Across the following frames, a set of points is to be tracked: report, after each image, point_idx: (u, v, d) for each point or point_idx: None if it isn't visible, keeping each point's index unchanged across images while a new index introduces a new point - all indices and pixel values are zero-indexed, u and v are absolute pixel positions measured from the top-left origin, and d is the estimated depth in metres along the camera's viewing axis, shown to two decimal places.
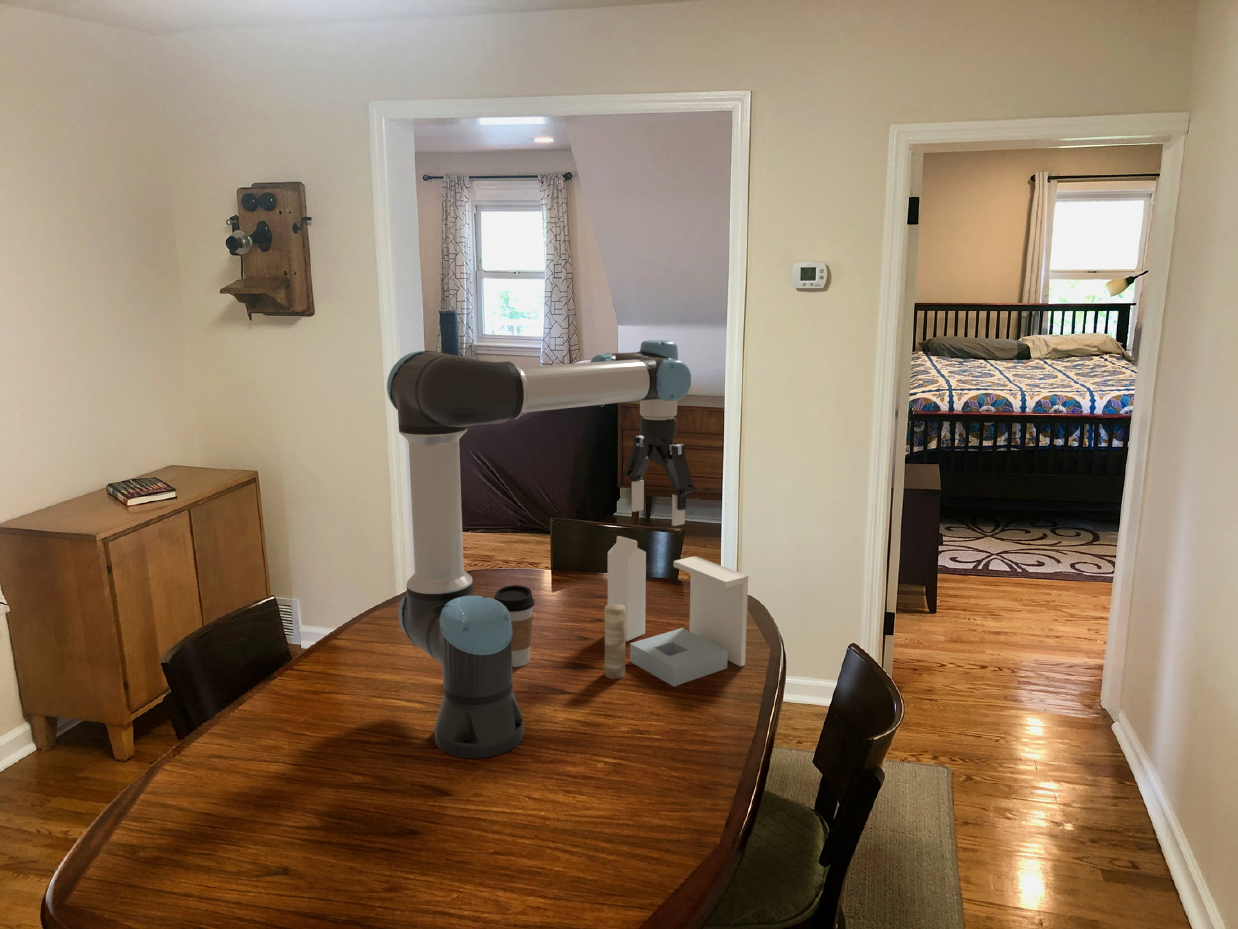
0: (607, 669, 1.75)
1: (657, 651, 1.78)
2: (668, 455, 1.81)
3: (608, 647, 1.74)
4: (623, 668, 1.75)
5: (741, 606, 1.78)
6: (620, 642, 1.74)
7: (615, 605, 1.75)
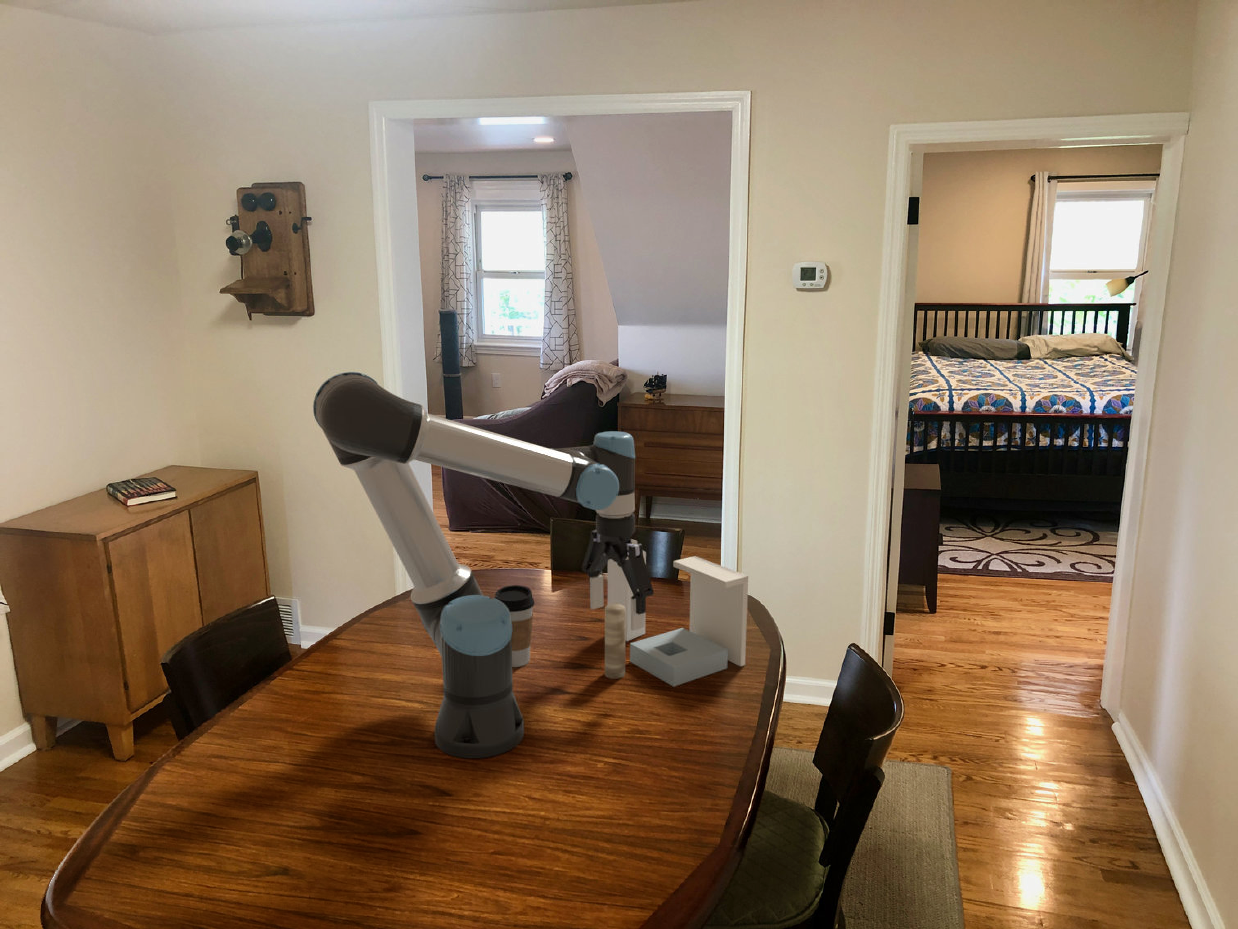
0: (607, 669, 1.75)
1: (657, 651, 1.78)
2: (626, 554, 1.69)
3: (608, 647, 1.74)
4: (623, 668, 1.75)
5: (741, 606, 1.78)
6: (620, 642, 1.74)
7: (615, 605, 1.75)
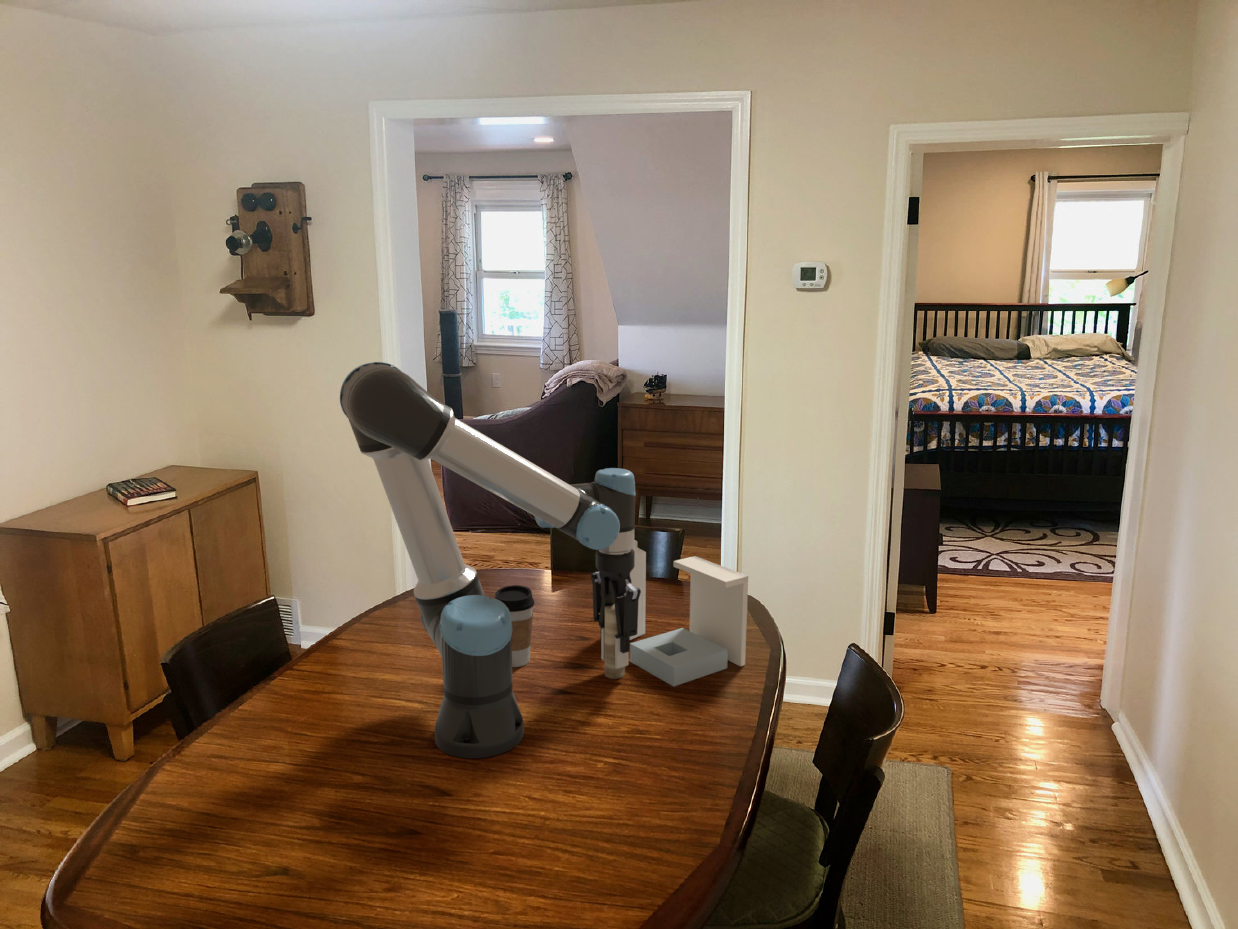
0: (607, 668, 1.75)
1: (657, 651, 1.78)
2: None
3: (608, 646, 1.74)
4: (623, 668, 1.75)
5: (741, 606, 1.78)
6: None
7: None
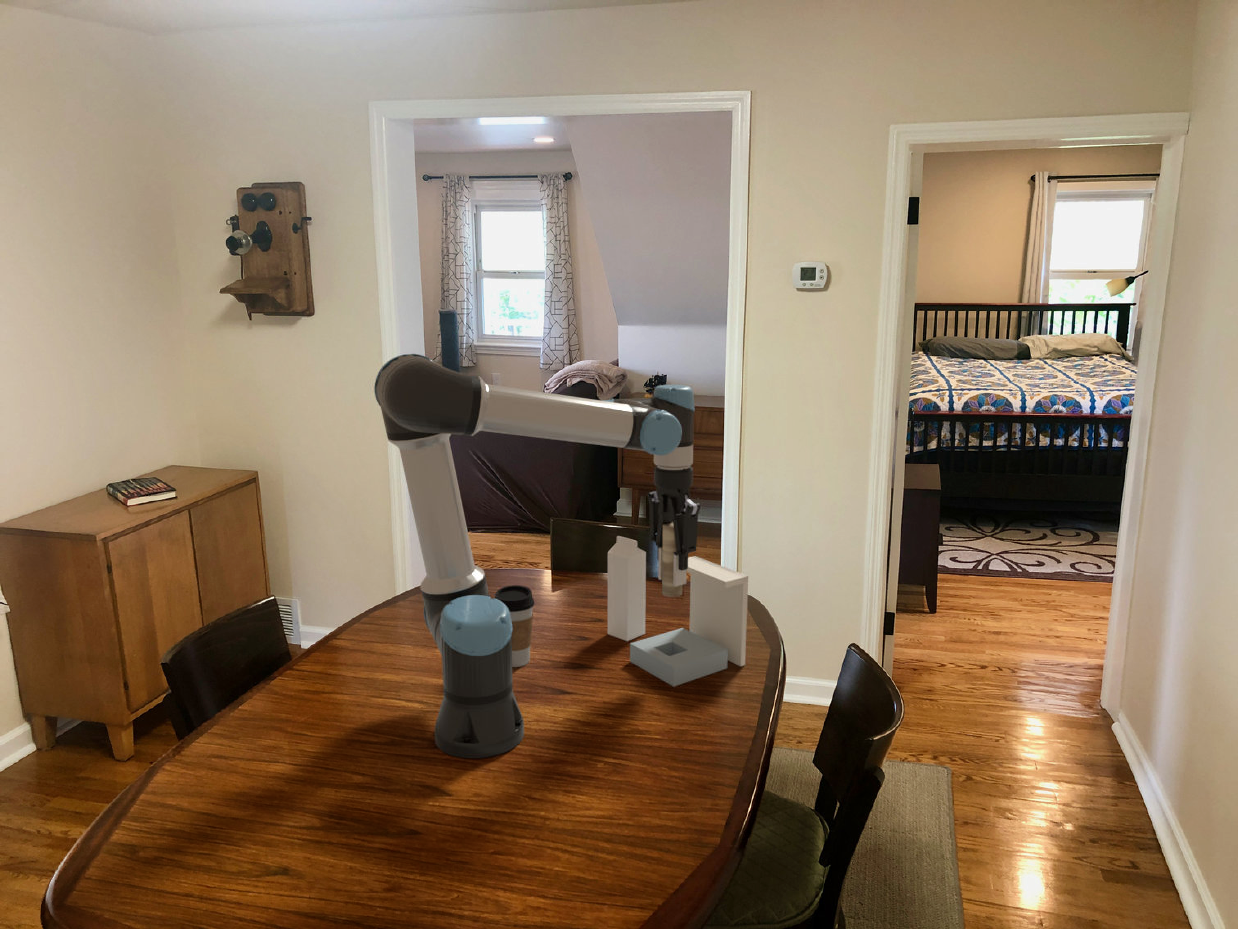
0: (665, 587, 1.75)
1: (657, 651, 1.78)
2: None
3: (666, 564, 1.74)
4: (681, 586, 1.75)
5: (741, 606, 1.78)
6: None
7: None
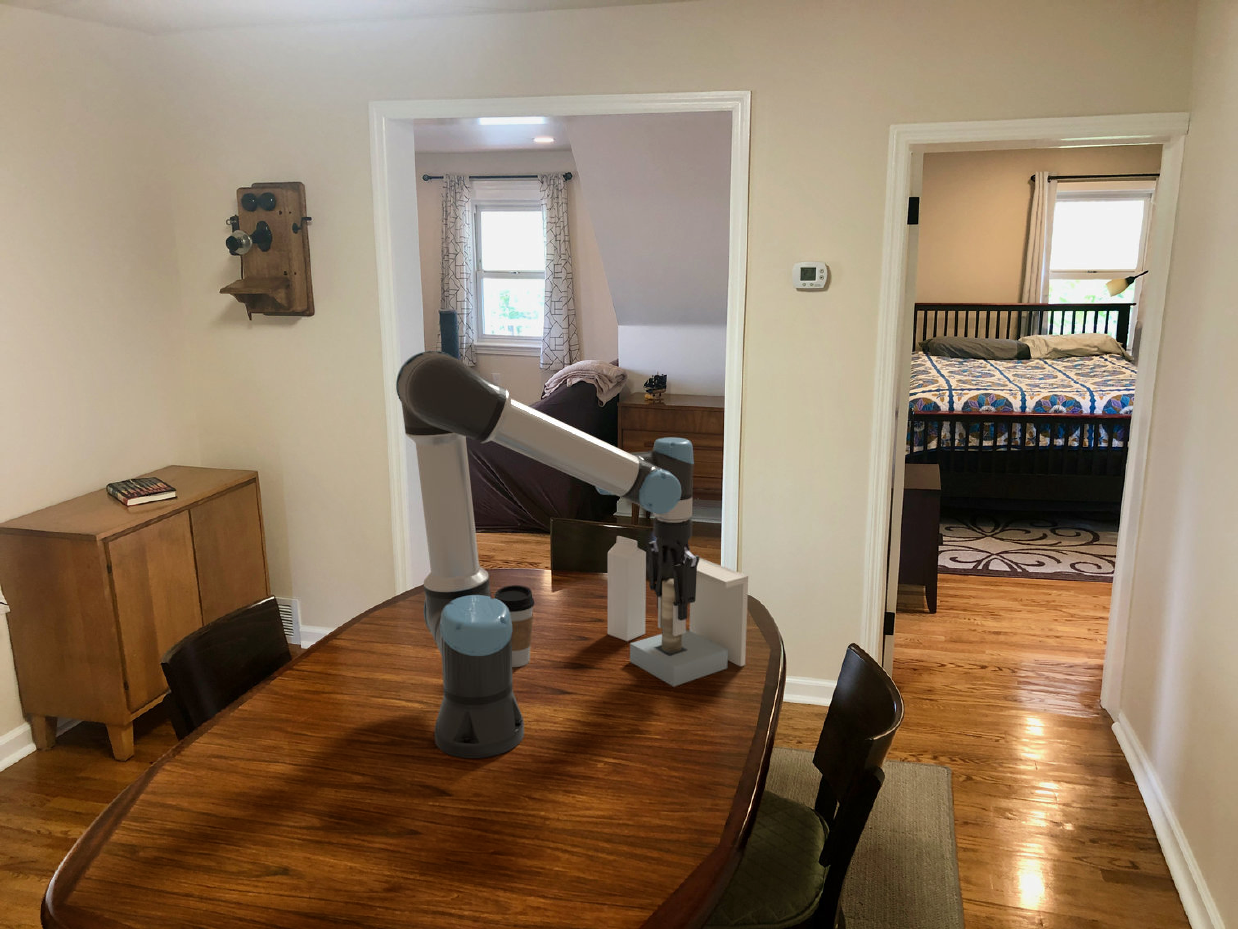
0: (664, 642, 1.77)
1: (657, 651, 1.78)
2: None
3: (665, 620, 1.76)
4: (680, 641, 1.78)
5: (741, 606, 1.78)
6: None
7: (672, 580, 1.77)
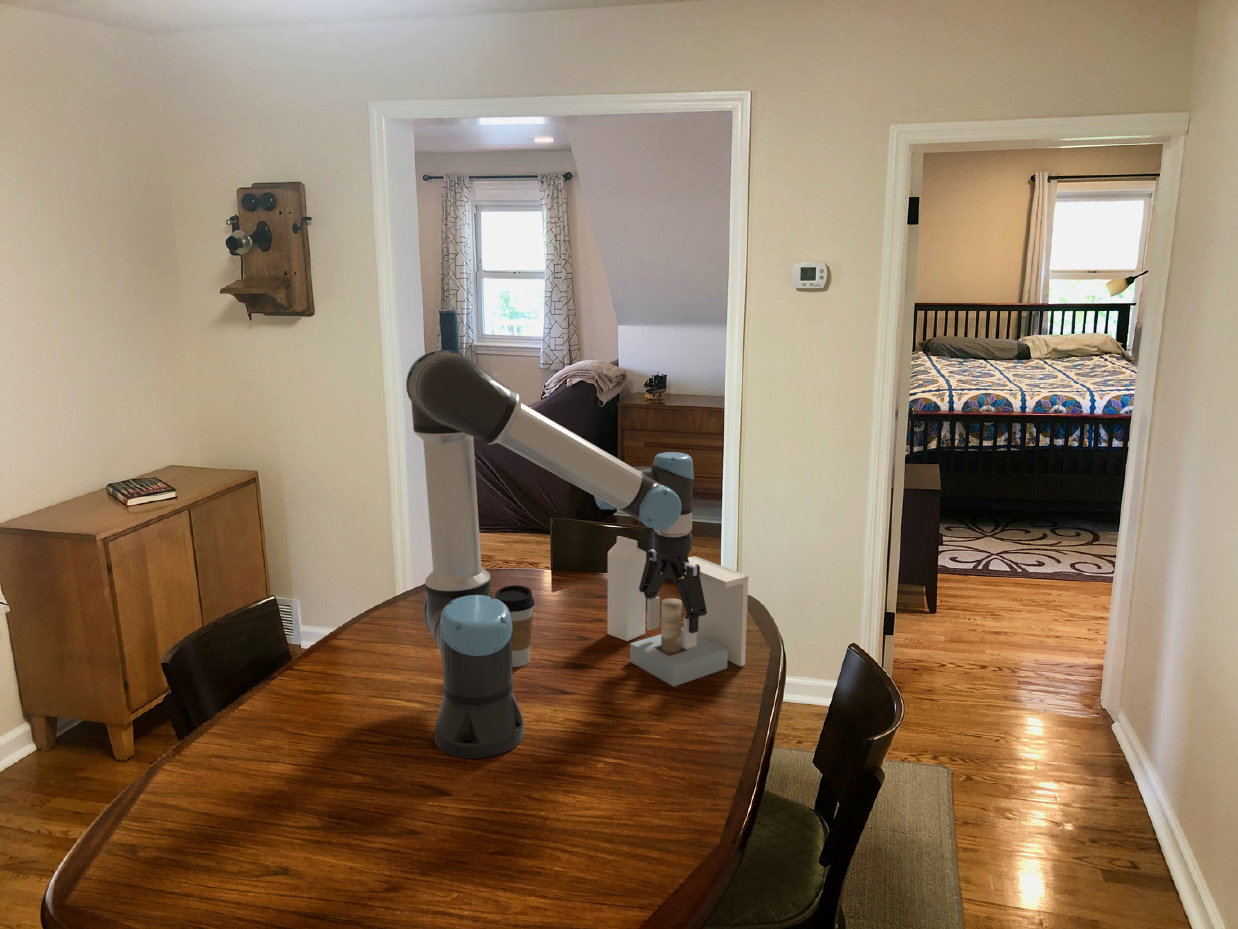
0: None
1: (657, 651, 1.78)
2: (682, 573, 1.74)
3: (665, 640, 1.77)
4: None
5: (741, 606, 1.78)
6: (677, 635, 1.77)
7: (672, 599, 1.78)
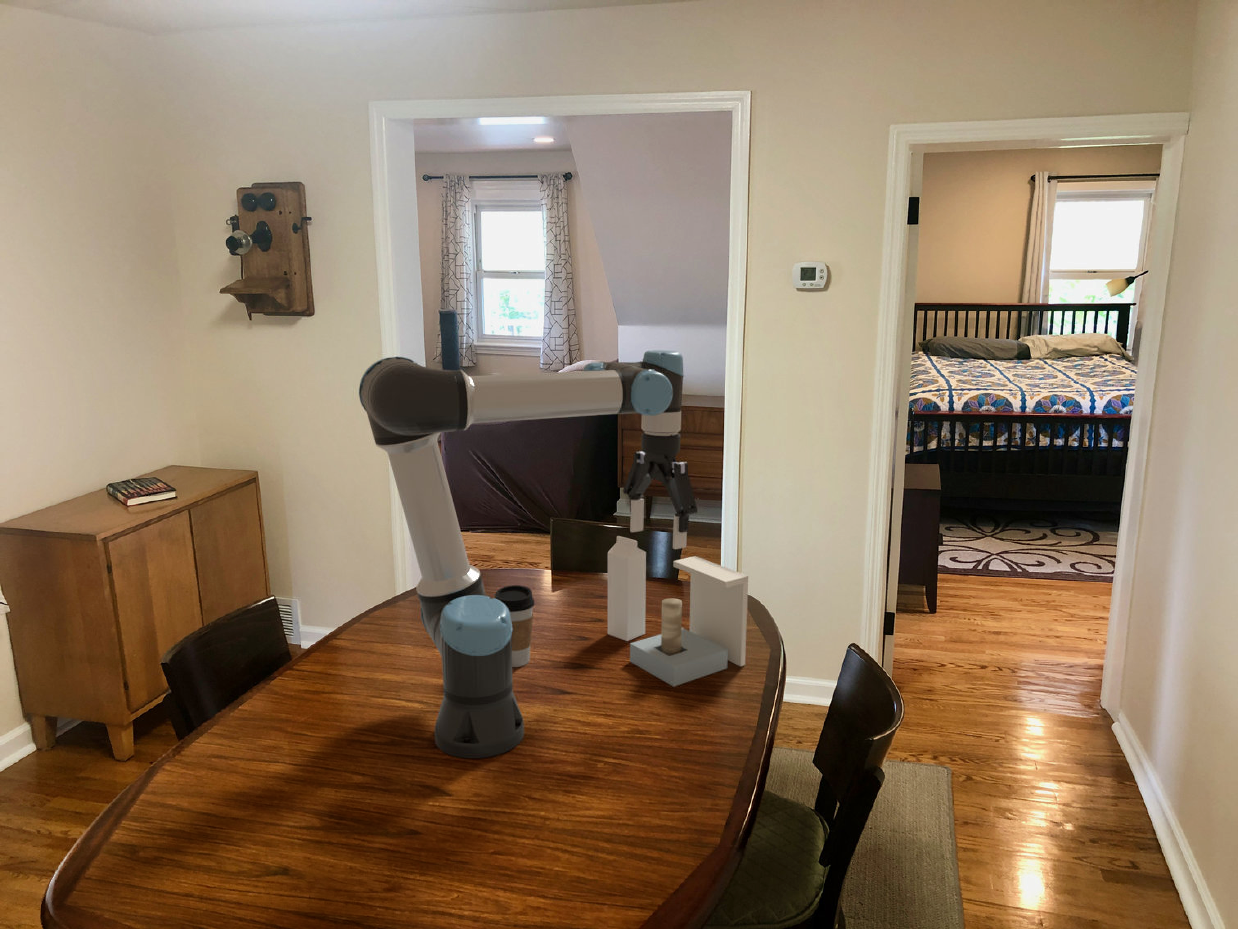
0: None
1: (657, 651, 1.78)
2: (670, 473, 1.69)
3: (665, 640, 1.77)
4: None
5: (741, 606, 1.78)
6: (677, 635, 1.77)
7: (672, 599, 1.78)
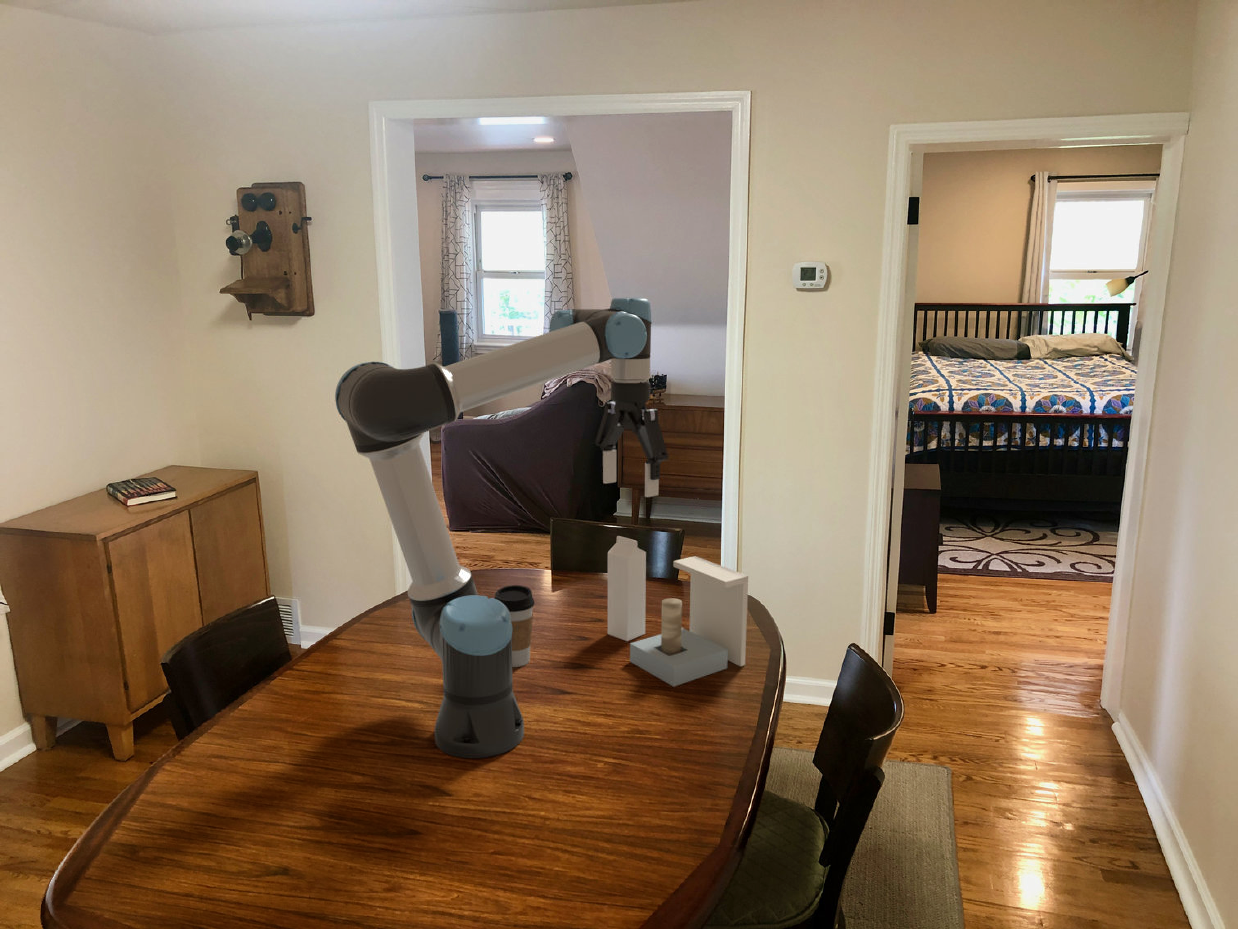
0: None
1: (657, 651, 1.78)
2: (641, 421, 1.69)
3: (665, 640, 1.77)
4: None
5: (741, 606, 1.78)
6: (677, 635, 1.77)
7: (672, 599, 1.78)
